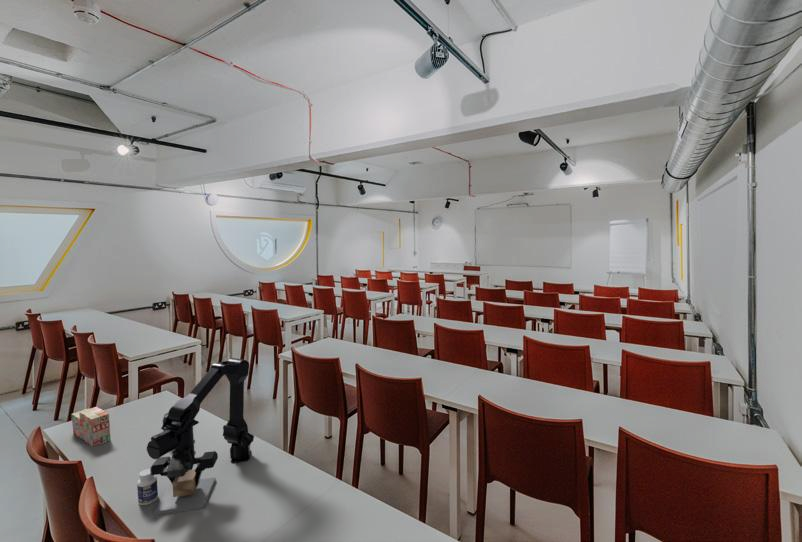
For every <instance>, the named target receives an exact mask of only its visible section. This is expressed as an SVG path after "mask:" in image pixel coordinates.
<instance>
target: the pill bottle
mask: <svg viewBox="0 0 802 542" xmlns="http://www.w3.org/2000/svg"><path fill="white" fill-rule="evenodd" d="M150 469H151V468H145V469H143V470H142V471H140V472H139V479H138V480H137V483H136V488H137V489H136V490H137V503H138V504H139V505H141V506H146V505H147V506H148V505H149V504H152V503H154V502H155V501H157V499H158V497H159V491H158V477H157V476H158V475H151V473H150Z"/></svg>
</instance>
